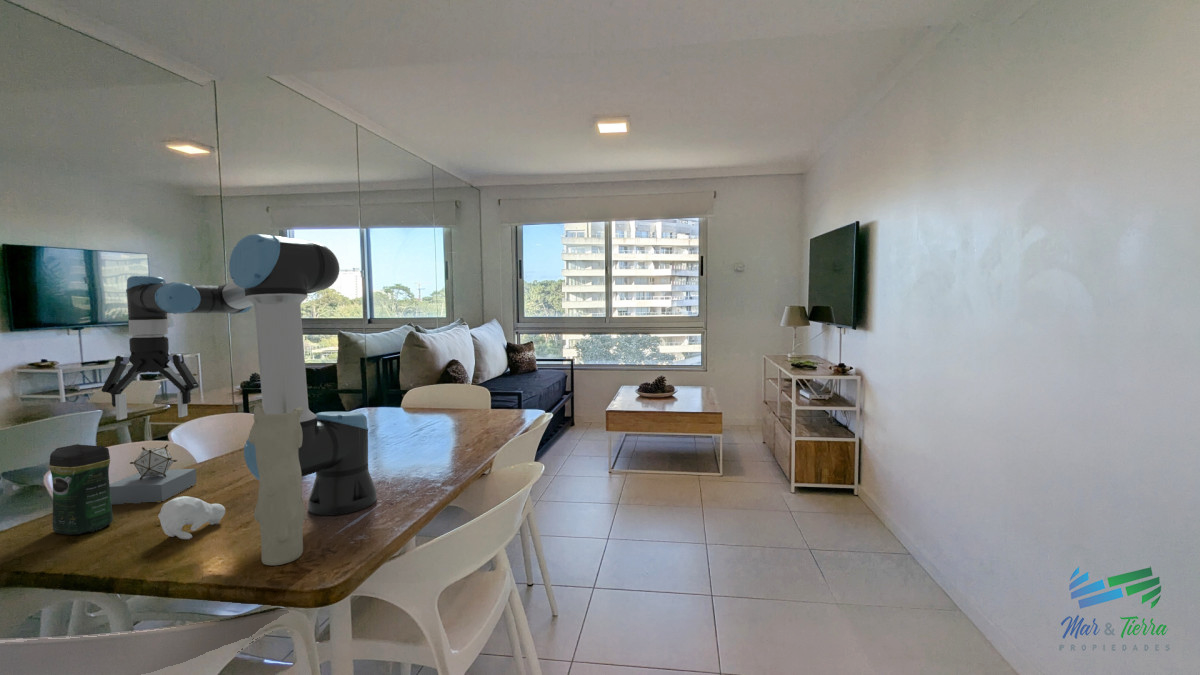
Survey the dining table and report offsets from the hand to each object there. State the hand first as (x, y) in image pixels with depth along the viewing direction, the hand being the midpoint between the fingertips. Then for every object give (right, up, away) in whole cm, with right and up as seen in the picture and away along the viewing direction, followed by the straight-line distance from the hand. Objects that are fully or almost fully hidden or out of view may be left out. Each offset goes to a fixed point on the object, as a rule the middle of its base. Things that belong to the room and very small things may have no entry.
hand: (152, 417), depth 130 cm
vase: (+55, -22, -33) cm, 67 cm away
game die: (0, -16, +1) cm, 16 cm away
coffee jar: (+2, -21, -20) cm, 29 cm away
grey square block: (-1, -21, +1) cm, 21 cm away
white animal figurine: (+28, -22, -21) cm, 41 cm away
